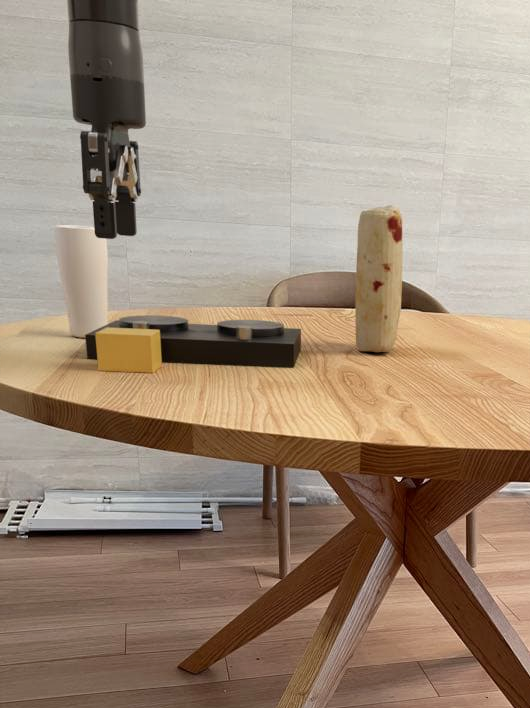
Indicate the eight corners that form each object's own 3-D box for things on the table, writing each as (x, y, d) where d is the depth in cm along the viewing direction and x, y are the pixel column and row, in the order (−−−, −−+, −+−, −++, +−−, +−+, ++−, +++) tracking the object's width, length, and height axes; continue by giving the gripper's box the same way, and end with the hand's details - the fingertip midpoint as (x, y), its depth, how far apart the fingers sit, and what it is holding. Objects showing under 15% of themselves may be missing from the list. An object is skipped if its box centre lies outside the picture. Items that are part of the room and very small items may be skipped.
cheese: (98, 370, 98) (95, 332, 96) (109, 363, 102) (106, 327, 100) (153, 372, 98) (150, 335, 96) (162, 365, 103) (159, 329, 101)
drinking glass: (61, 339, 117) (50, 226, 111) (68, 332, 123) (57, 224, 117) (112, 340, 118) (103, 228, 113) (116, 333, 124) (107, 227, 119)
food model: (402, 357, 117) (410, 206, 110) (356, 355, 117) (360, 203, 109) (395, 346, 126) (402, 206, 119) (352, 345, 126) (356, 203, 118)
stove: (87, 358, 104) (83, 321, 103) (117, 341, 117) (114, 308, 115) (293, 367, 106) (293, 331, 104) (300, 350, 119) (301, 317, 117)
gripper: (91, 82, 95) (101, 233, 101) (48, 62, 82) (62, 236, 88) (158, 88, 95) (164, 237, 101) (125, 69, 82) (134, 241, 88)
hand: (116, 236), depth 94 cm, fingers open, 8 cm apart
